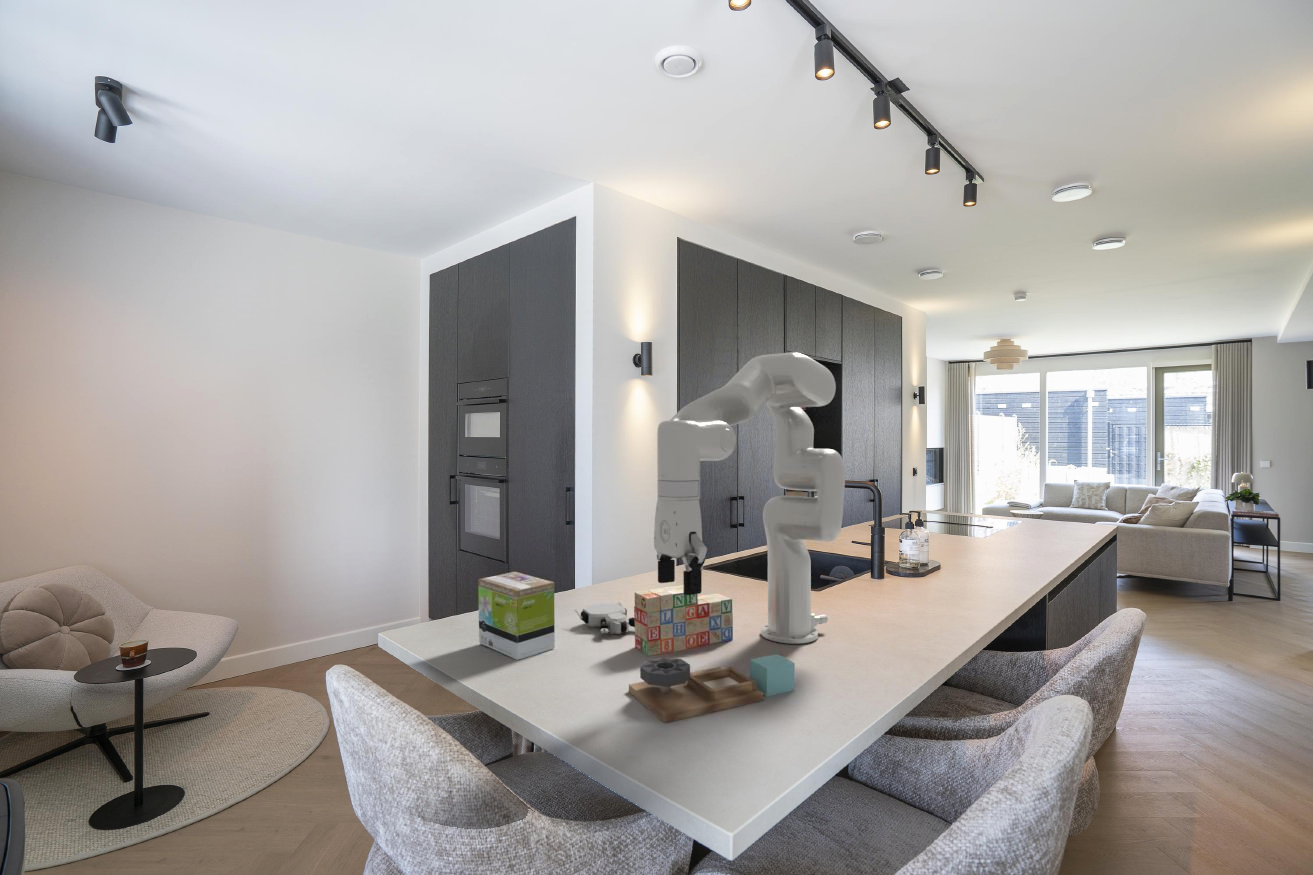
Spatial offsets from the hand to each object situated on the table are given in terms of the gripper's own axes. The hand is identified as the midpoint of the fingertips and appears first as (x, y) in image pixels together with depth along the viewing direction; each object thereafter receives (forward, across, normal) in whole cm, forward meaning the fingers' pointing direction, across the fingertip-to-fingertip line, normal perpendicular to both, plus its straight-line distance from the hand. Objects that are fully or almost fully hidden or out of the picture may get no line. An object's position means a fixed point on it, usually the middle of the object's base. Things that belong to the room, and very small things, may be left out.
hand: (678, 587), depth 111 cm
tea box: (+19, -38, -20) cm, 47 cm away
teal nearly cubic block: (+19, +5, +16) cm, 25 cm away
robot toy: (+19, -41, +4) cm, 46 cm away
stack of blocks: (+19, -24, +14) cm, 33 cm away
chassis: (+19, +2, +2) cm, 19 cm away
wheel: (+15, 0, -3) cm, 15 cm away
